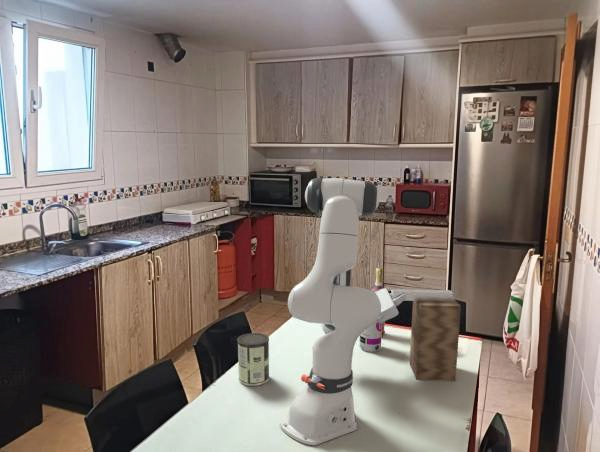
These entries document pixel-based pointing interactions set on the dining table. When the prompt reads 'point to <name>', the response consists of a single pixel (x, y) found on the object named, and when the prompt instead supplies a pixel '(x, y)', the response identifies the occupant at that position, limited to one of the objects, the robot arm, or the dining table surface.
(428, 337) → the walnut stand
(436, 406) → the dining table surface
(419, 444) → the dining table surface
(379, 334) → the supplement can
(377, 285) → the liquor
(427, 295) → the aluminium bar
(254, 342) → the coffee can
